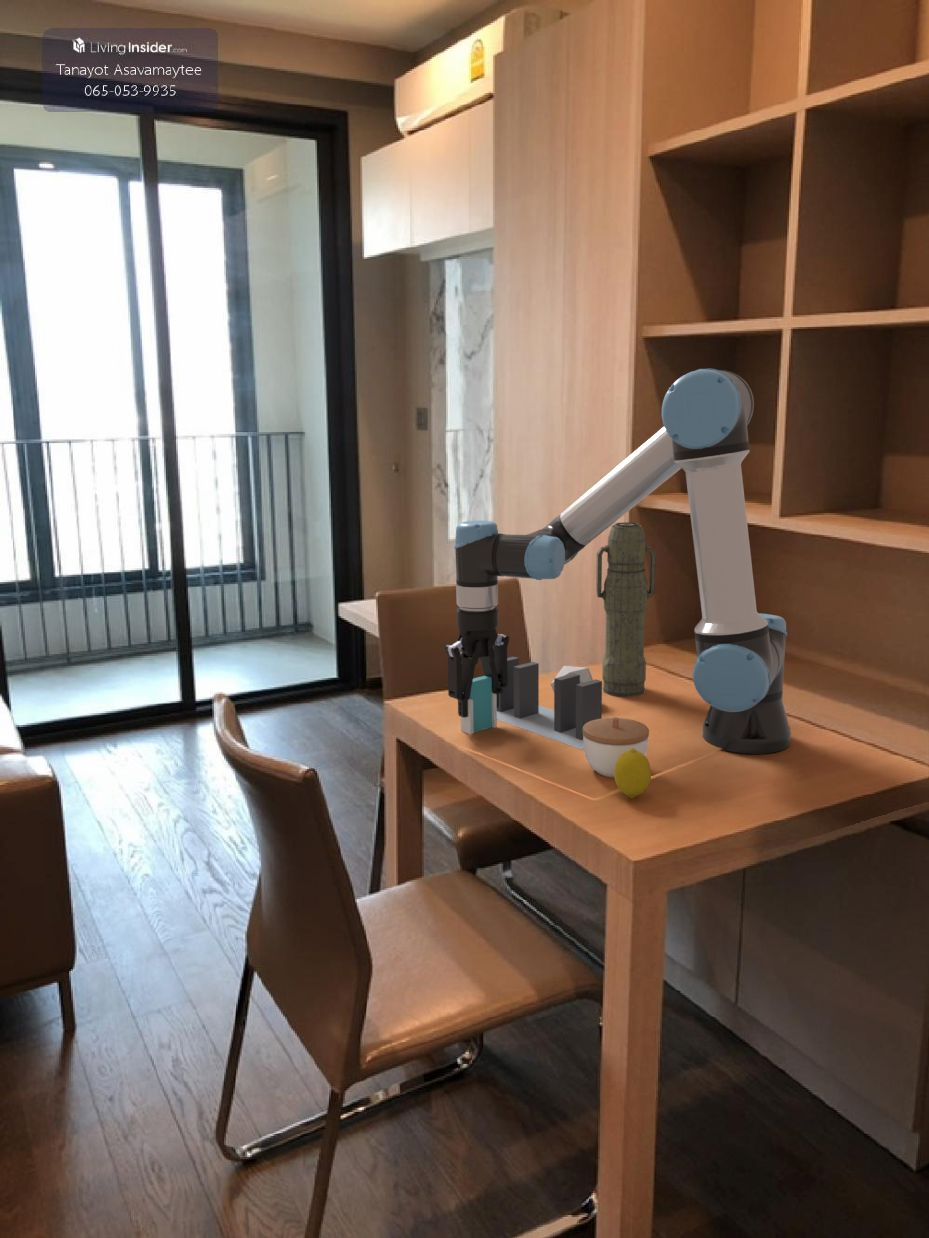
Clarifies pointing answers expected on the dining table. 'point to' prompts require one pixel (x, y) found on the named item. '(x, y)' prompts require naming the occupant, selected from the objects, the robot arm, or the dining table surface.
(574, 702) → the domino
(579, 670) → the die
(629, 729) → the lidded jar
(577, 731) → the domino
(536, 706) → the domino
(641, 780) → the lemon
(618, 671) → the thermos
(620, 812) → the dining table surface
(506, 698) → the domino
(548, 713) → the mat
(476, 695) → the teal domino
